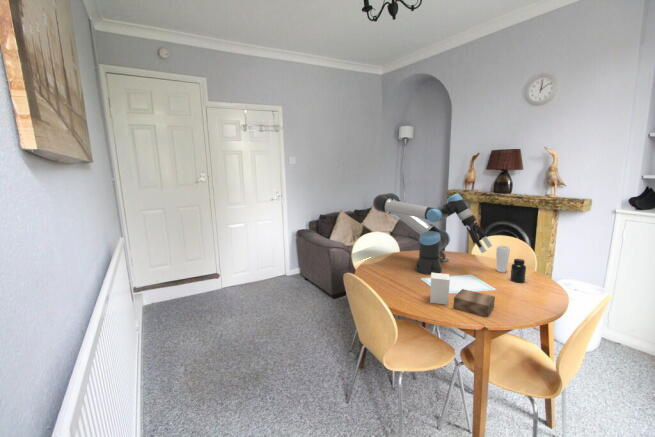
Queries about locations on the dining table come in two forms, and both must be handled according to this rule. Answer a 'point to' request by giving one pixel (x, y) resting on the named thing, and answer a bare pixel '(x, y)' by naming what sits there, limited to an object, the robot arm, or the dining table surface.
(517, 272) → the supplement bottle
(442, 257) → the pocket watch
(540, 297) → the dining table surface
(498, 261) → the drinking glass
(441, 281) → the upright white rectangular block
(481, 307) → the walnut stand
